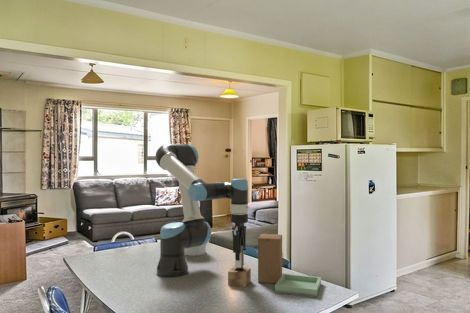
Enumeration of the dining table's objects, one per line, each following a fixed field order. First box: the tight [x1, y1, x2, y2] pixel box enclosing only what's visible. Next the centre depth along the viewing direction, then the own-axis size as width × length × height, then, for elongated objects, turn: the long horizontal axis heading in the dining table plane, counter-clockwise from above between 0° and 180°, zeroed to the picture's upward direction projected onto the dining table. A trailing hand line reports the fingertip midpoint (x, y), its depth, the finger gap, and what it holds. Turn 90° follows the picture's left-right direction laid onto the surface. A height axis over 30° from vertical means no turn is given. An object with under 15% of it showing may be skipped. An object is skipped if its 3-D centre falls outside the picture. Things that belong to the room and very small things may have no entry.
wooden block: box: [257, 233, 283, 285], centre depth 174 cm, size 10×10×20 cm
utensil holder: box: [184, 243, 207, 257], centre depth 223 cm, size 15×15×18 cm
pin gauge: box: [236, 245, 244, 271], centre depth 169 cm, size 3×3×14 cm
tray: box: [274, 273, 322, 298], centre depth 163 cm, size 17×17×3 cm
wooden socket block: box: [227, 266, 252, 288], centre depth 169 cm, size 8×8×6 cm
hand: (239, 266), depth 169 cm, fingers closed on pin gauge, 3 cm apart
